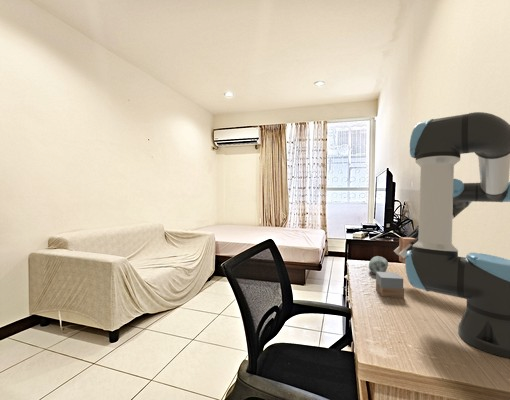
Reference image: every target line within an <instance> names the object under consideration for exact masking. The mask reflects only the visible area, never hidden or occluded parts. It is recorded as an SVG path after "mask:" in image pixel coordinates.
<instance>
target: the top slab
mask: <svg viewBox="0 0 510 400" xmlns="http://www.w3.org/2000/svg"><path fill="white" fill-rule="evenodd" d="M376 282H377V283H378V284H379V285H380V287H381V288H396V289H403V288H404V278H403V277H402V276H401V275H400V274H398V273H397V272H389V271H386V272H376V274H375V283H376Z"/></svg>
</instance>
